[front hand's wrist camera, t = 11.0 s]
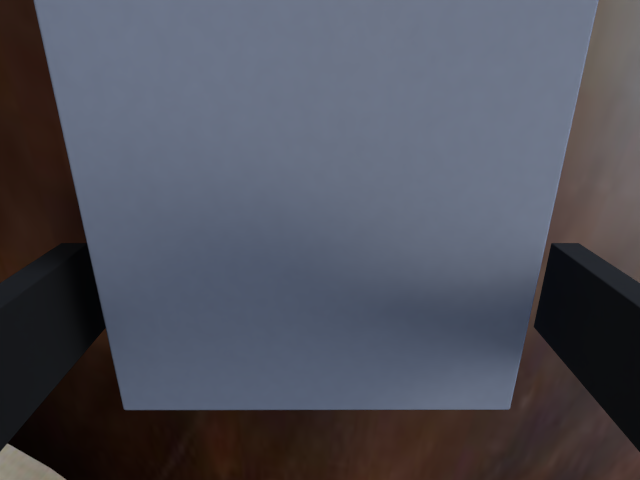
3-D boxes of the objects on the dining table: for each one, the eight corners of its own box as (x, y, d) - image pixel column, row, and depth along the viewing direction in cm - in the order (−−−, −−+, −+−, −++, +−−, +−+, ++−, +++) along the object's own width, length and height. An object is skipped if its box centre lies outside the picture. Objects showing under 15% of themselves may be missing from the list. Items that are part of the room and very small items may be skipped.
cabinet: (163, -237, 15) (-163, -873, 5) (471, -235, 15) (790, -866, 5) (212, 253, 22) (122, 411, 12) (422, 253, 22) (510, 410, 12)
